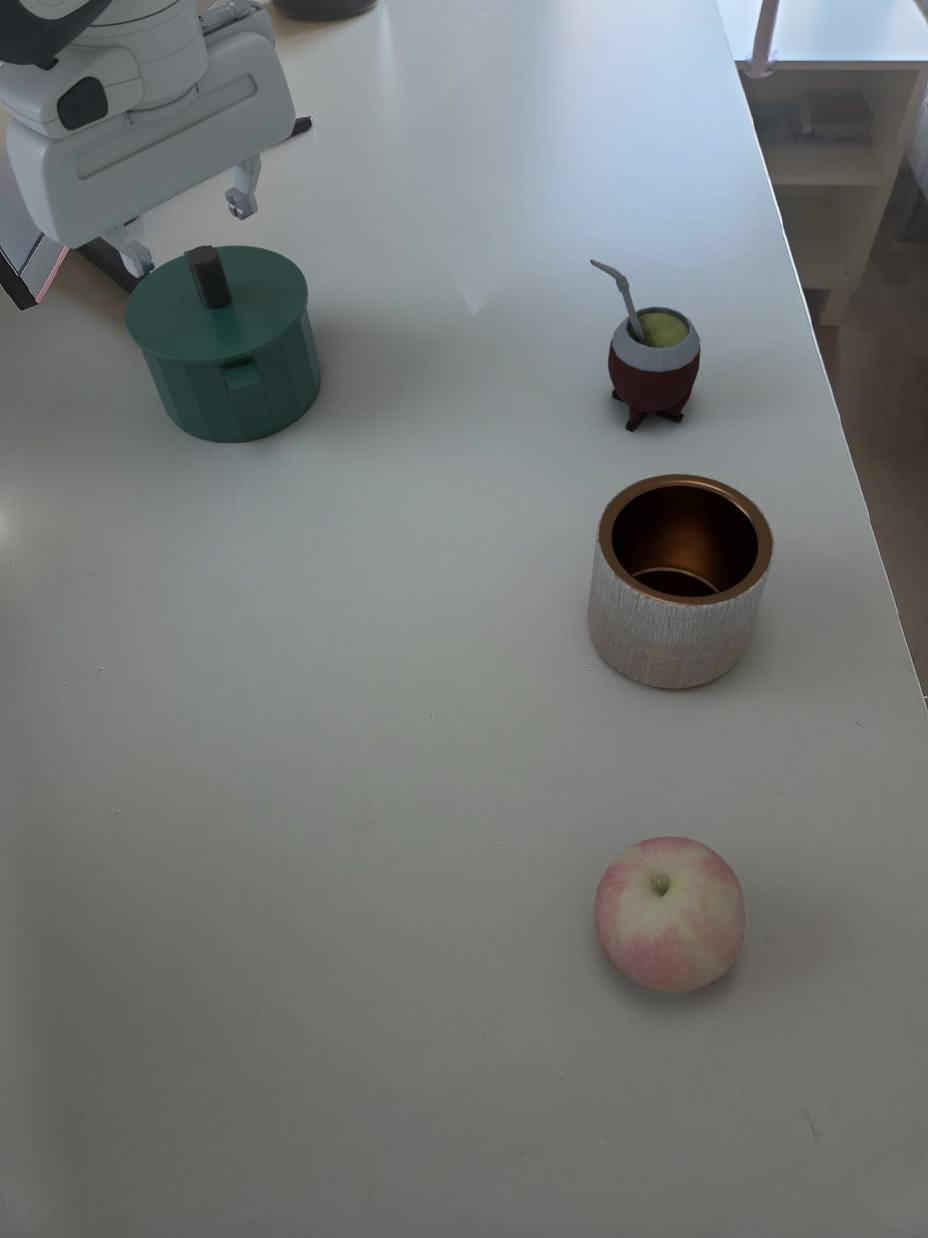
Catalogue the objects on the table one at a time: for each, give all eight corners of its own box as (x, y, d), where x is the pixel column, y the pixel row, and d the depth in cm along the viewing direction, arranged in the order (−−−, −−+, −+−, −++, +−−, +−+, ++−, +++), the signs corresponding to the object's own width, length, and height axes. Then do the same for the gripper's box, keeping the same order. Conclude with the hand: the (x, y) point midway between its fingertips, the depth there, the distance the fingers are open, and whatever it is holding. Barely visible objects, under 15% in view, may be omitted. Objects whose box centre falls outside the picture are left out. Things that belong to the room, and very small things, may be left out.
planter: (760, 691, 63) (793, 605, 55) (593, 696, 63) (603, 612, 56) (732, 561, 69) (758, 467, 61) (580, 567, 70) (587, 474, 62)
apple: (678, 848, 57) (698, 790, 51) (760, 963, 53) (793, 916, 47) (564, 913, 55) (570, 861, 49) (640, 1037, 51) (657, 999, 45)
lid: (146, 392, 71) (122, 336, 67) (115, 284, 79) (93, 228, 75) (331, 340, 74) (320, 282, 69) (284, 239, 82) (271, 182, 77)
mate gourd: (704, 396, 79) (737, 232, 67) (661, 456, 76) (687, 293, 63) (624, 366, 82) (641, 202, 70) (578, 422, 78) (588, 260, 66)
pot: (186, 483, 77) (153, 402, 70) (148, 343, 87) (116, 260, 80) (347, 436, 79) (330, 353, 72) (291, 304, 89) (272, 221, 82)
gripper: (234, -27, 66) (277, 168, 77) (-37, 90, 58) (55, 287, 69) (292, -1, 63) (327, 196, 74) (15, 125, 55) (102, 324, 66)
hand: (194, 241), depth 72 cm, fingers open, 8 cm apart
